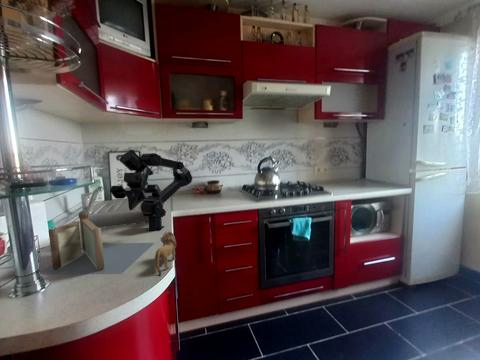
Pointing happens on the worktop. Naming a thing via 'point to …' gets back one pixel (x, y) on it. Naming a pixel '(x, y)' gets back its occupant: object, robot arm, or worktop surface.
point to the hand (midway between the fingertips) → (130, 209)
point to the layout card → (114, 260)
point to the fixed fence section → (67, 242)
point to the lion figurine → (165, 251)
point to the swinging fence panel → (93, 243)
